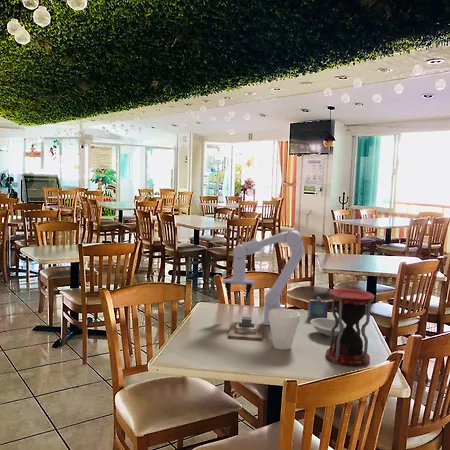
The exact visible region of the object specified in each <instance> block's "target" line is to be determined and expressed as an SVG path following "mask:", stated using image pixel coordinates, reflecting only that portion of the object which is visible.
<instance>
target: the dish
mask: <svg viewBox="0 0 450 450" xmlns="http://www.w3.org/2000/svg"><path fill="white" fill-rule="evenodd" d="M309 322H310V324H311V325H312V327H314V329H315V330H316V331H317V332H318V333H320V334H323V335H325V336H327V337H331V330H332V328H333V327H334V325H335V319H333V318H332V319H331V318H328V317H327V318H315V319H311V320H310V321H309ZM342 324H343V328H345V327H346V324H345V323H344V322H342ZM339 331H340V325H339V324H338V327H337V328H336V329H335V330H334V336H336V335H337V334H338V333H339Z"/></svg>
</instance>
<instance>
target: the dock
mask: <svg viewBox="0 0 450 450" xmlns="http://www.w3.org/2000/svg"><path fill="white" fill-rule="evenodd" d="M263 328H264V325H263V323H257V322H252V323H251V328H247V327H242V321H231V323H230V327H229V332H228V335H227V336H228V339H236V340H237V339H238V340H249V341H250V340H251V341H252V340H253V341H263V336H264V335H263V334H264V331H263Z"/></svg>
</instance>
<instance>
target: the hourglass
mask: <svg viewBox="0 0 450 450" xmlns="http://www.w3.org/2000/svg"><path fill="white" fill-rule="evenodd" d="M328 295H329V297H330V298H331V299H332V311H331V313H332V316H333V318H334V320H335V325H334V327H333V328H332V330H331V335H330V339H329V341H330V342H329V348H327V349H326V350H325V357H326V359H328V361H330V362H332V363H334V364H338V365H340V366H344V367H345V366H346V367H364V366H367V365H368V364H370V359H371V357H370V354H368V345H369V341H368V337H367V335H366V327H367V326H368V325H369V323H370V320H371V319H370V318H371V305H372V303H374V302H375V294H373V293H371V292H369V291H366V290H360V289H356V288H355V289H354V288H334V289H333V288H332V289H331V290H330V291H329V294H328ZM336 312H337V313H336ZM337 315H338V316H337ZM365 315H366V319H365V322H364V323H363V324H362V326H361V328H360V321H361V320H362V319H363V318H364V316H365ZM342 323H344V324H345V325H346V327H345V328H343V324H342ZM338 324H339V325H340V331H339V333H338V334H337V335H334V330H335V329H336V328H337V327H338ZM354 326H355V328H354ZM334 336H335V337H334ZM361 336H362V337H363V339H362V337H361Z"/></svg>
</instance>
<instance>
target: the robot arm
mask: <svg viewBox="0 0 450 450" xmlns="http://www.w3.org/2000/svg"><path fill="white" fill-rule="evenodd" d="M303 241H304V239H303V236H302V234H301V232H300V231H298V230H296V229H292V230H288V231H284V232H279V233H276V234H274V235H271V236H269V237H267V238H264V239H258V238H251V240H250V241H247V242H244V241H243V242H242V243H241V244H237V245H236V246H235V247H234V248H233V250H232V255H233V264H232V278H223V279H222V284H223V285H224V287H225V290H226V292H227V295H228V296H227V297H228V300H229V301H231V298H232V297H231V296H232V295H231V291H232V290H231V288H232V287H231V286H232V285H241V286H246V287H245V288H246V289H245V298H244V299H245V301H246V302H247V301H248V296H249V293H250V291H251V290H252V288H253V286H255V280H251V279H246V265H247V264H246V263H247V261H246V259H247V258H246V257H247V256H250V255H253V254H256V253H258V252H261V251H262V250H263V247H268V246H270V245H273V244H277V243H281V244H287V245H288V246H289V248H290V251H291V255H290V257H289V259H288V260H287V262H286V263H285V266H284V267H283V269H282V271H281V273H280V274H279V276H278V277H277V279H276V281H274V282H275V283H274V284H273V285H272V287H270V288H269V289H268V290H267V293H266V294H265V295H264V307H263V310H264V311H263V319H262V324H263V326H270V322H269V320H268V318H269V311H270V310H273V309H286V305H285V304H281V302H280V298H281V296H282V295H281V294H282V293H283V290H284V288H285V286H286V284H287V283H288V282H289V280H290V278H291V277H292V274H293V273H294V272H295V269H296V268H297V266H298V264H300V261H301V259H302V258H303V257H304V242H303Z"/></svg>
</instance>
